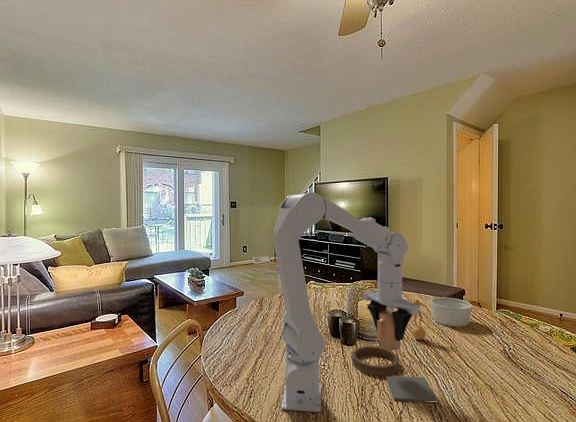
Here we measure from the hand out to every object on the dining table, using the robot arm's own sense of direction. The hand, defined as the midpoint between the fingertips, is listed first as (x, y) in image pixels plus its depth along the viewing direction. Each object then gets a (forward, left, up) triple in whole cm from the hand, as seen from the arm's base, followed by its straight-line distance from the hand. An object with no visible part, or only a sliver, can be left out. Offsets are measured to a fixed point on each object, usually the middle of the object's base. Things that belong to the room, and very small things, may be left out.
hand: (389, 335), depth 77 cm
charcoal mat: (-6, -3, -9) cm, 12 cm away
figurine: (+23, -13, -10) cm, 28 cm away
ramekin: (+39, -29, -10) cm, 49 cm away
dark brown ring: (+5, +3, -9) cm, 11 cm away
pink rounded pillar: (0, 0, -2) cm, 2 cm away
